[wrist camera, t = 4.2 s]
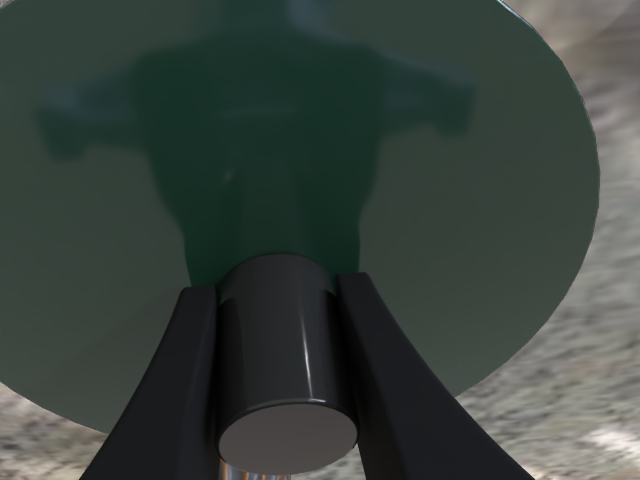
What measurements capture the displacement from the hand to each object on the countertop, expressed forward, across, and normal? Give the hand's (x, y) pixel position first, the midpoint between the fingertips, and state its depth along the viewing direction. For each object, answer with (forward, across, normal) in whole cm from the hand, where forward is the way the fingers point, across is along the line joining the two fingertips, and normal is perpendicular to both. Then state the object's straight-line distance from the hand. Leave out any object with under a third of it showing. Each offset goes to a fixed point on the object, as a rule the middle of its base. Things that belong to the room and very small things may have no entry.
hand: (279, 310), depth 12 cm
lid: (+1, 0, 0) cm, 1 cm away
